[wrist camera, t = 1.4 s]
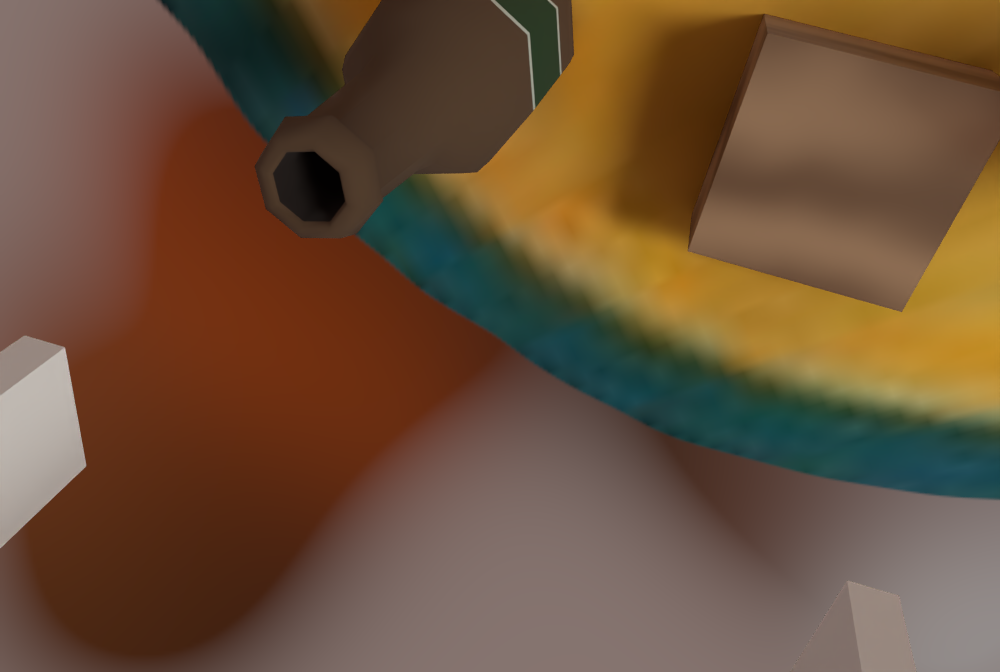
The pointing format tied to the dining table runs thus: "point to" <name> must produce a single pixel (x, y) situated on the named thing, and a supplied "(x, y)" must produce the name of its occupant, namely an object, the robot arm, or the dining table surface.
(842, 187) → the walnut base brick
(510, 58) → the beer bottle
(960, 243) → the dining table surface
